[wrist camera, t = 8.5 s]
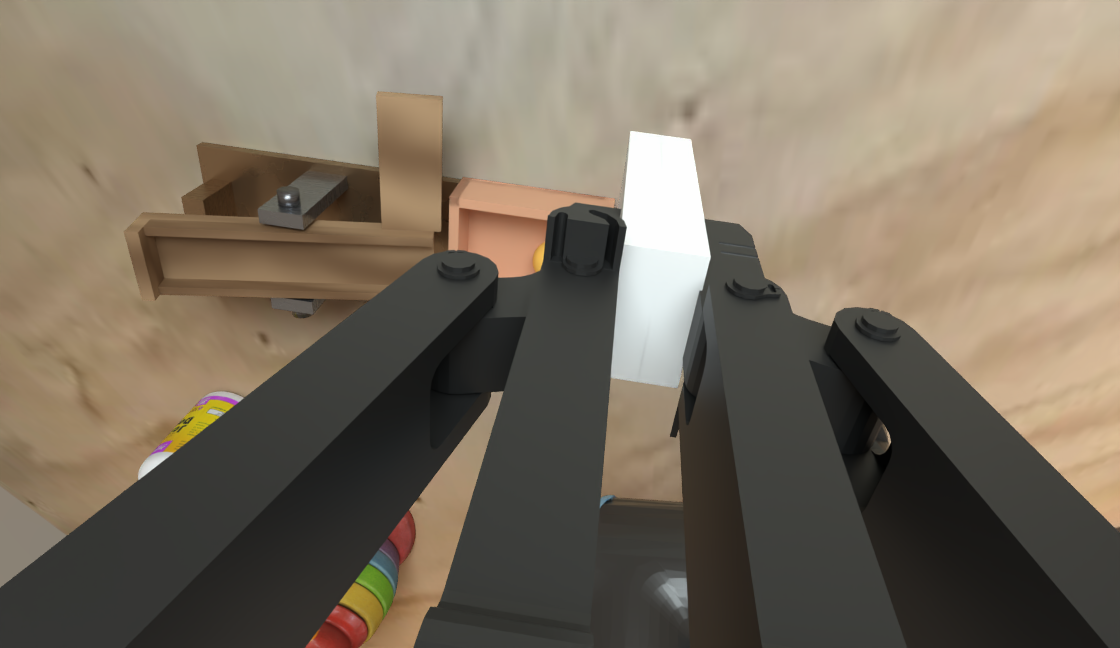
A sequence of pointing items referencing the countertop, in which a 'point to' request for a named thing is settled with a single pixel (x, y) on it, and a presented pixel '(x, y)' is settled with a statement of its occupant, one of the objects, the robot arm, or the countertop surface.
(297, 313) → the lever stand
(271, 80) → the countertop surface
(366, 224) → the lever
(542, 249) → the ball
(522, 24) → the countertop surface
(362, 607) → the stacking bear
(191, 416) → the supplement bottle
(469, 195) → the dish
